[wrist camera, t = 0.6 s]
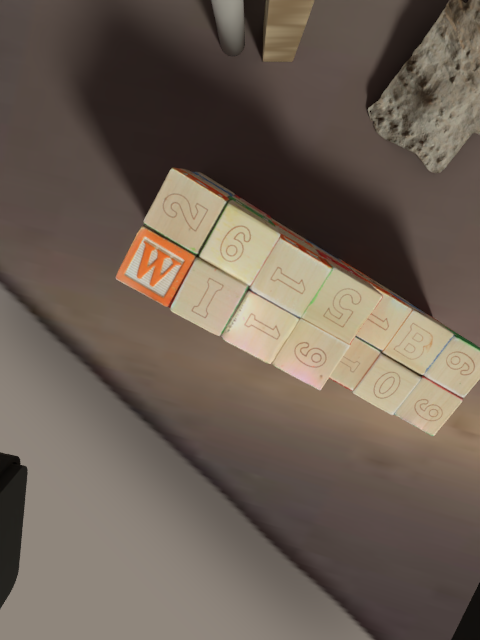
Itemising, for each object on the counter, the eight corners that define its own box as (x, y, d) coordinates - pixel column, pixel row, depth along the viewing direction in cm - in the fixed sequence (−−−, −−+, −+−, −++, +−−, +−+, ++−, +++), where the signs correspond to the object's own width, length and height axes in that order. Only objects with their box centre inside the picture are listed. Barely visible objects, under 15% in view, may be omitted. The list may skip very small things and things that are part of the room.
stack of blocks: (435, 316, 35) (529, 382, 23) (388, 378, 37) (453, 470, 25) (198, 170, 32) (169, 163, 21) (158, 245, 34) (110, 278, 22)
